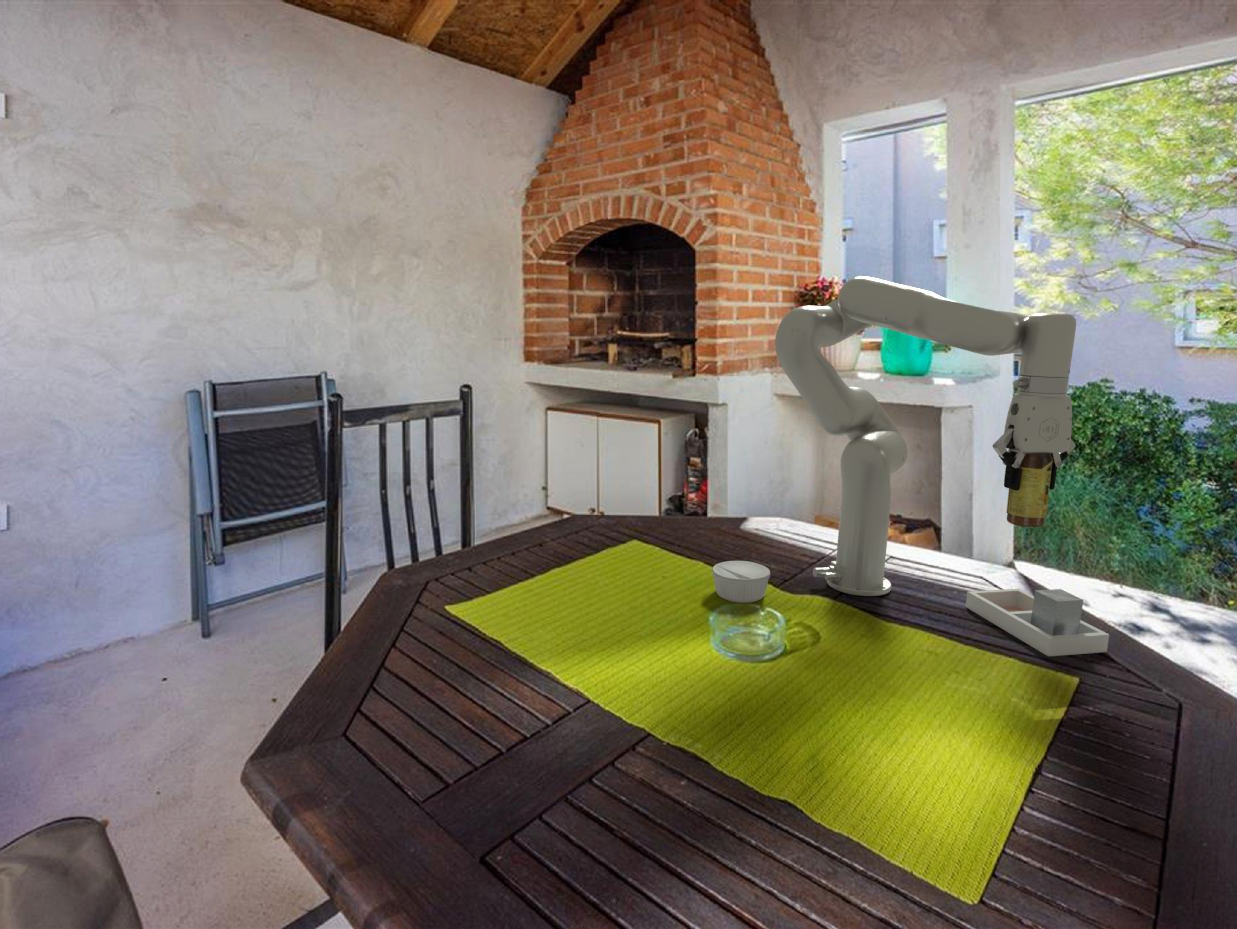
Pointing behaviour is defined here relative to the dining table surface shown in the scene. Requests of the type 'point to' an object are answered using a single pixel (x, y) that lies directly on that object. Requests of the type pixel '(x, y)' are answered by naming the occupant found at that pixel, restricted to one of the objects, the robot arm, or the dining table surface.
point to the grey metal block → (1056, 612)
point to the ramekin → (740, 580)
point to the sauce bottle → (1031, 491)
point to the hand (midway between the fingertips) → (1028, 487)
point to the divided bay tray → (1015, 618)
